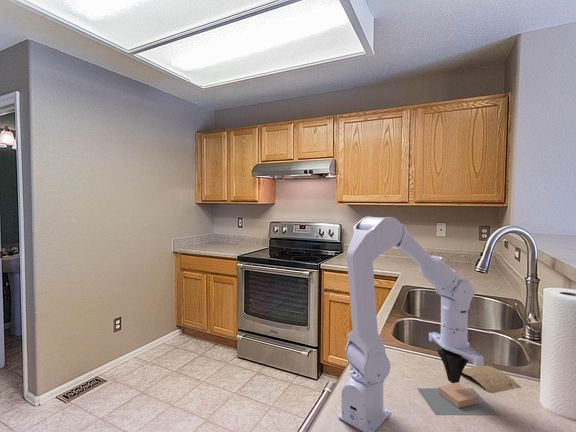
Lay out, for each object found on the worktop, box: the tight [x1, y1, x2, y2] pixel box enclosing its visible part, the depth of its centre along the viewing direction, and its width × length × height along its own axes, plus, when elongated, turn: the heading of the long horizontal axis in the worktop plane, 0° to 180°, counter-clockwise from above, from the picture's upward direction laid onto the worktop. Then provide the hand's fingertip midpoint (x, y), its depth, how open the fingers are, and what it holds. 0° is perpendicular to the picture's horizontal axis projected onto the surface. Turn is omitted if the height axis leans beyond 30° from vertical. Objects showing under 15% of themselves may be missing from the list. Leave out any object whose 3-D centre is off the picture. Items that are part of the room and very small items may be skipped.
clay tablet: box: [462, 365, 522, 394], centre depth 82 cm, size 14×10×3 cm
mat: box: [416, 387, 500, 416], centre depth 72 cm, size 14×10×1 cm
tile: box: [437, 382, 479, 408], centre depth 73 cm, size 6×2×6 cm
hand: (453, 381), depth 74 cm, fingers closed
